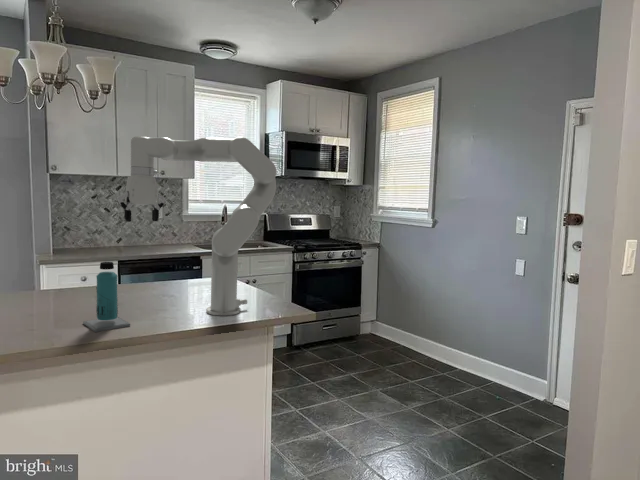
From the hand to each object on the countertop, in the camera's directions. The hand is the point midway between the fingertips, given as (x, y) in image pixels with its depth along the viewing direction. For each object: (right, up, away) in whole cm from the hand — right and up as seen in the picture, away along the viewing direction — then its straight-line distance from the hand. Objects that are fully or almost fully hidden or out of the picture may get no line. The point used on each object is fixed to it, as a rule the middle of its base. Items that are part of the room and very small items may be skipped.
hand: (141, 221), depth 166 cm
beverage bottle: (-7, -34, -13) cm, 37 cm away
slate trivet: (-7, -35, -13) cm, 37 cm away
